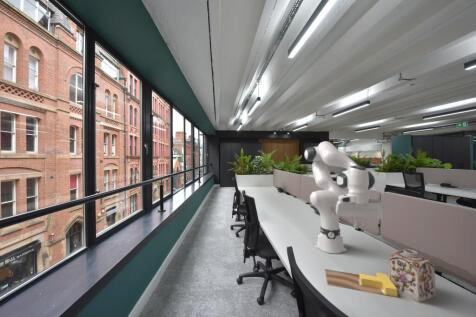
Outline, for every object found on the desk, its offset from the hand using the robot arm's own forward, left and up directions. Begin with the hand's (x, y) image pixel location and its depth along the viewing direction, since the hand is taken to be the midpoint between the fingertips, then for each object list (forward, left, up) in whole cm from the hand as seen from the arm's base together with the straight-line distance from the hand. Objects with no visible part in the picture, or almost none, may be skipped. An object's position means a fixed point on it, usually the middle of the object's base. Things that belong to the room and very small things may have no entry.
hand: (358, 225), depth 96 cm
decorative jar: (+4, +19, -26) cm, 33 cm away
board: (+6, -2, -26) cm, 26 cm away
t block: (+6, +5, -25) cm, 26 cm away
